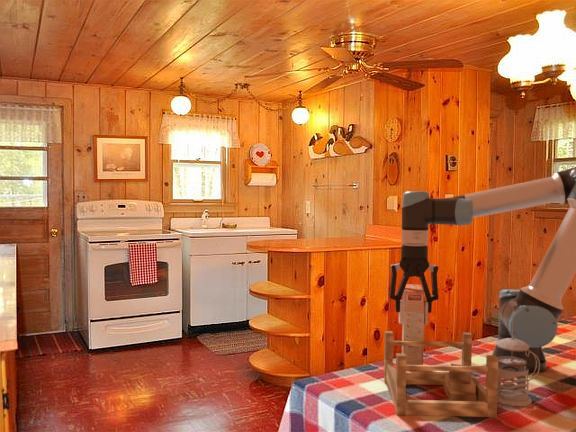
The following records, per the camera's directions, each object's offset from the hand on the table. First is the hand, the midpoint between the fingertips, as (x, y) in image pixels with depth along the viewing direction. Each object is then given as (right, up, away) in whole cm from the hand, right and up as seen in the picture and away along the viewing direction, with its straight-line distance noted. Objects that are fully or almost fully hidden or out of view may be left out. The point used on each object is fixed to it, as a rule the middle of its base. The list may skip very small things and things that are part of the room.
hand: (412, 323), depth 152 cm
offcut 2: (+8, -13, -18) cm, 24 cm away
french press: (+21, -15, -20) cm, 32 cm away
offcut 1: (+8, -10, -19) cm, 23 cm away
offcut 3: (+7, -15, -18) cm, 25 cm away
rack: (+1, -15, -20) cm, 25 cm away
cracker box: (0, -11, 0) cm, 11 cm away
